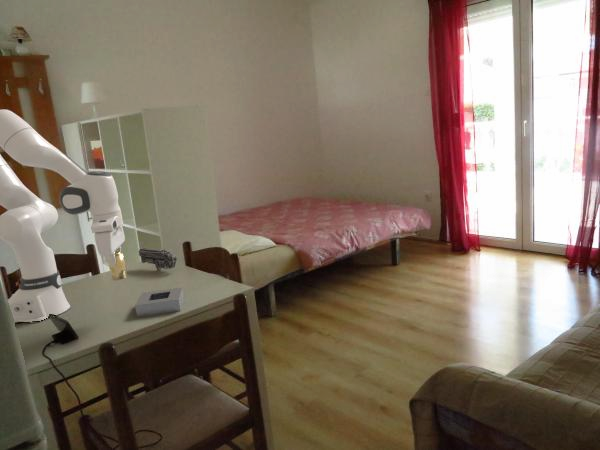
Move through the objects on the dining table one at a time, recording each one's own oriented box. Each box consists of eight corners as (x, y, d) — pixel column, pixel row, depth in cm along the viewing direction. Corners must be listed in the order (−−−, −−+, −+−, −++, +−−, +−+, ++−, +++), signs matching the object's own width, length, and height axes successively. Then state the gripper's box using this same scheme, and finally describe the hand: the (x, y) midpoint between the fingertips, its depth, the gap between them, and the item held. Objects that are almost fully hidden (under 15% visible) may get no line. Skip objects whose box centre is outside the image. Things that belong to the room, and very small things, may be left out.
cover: (109, 281, 155) (104, 256, 153) (113, 276, 160) (108, 252, 158) (125, 279, 156) (120, 254, 154) (128, 274, 161) (124, 250, 159)
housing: (137, 319, 155) (135, 305, 154) (144, 306, 167) (141, 292, 166) (181, 313, 157) (178, 299, 156) (184, 300, 169) (182, 287, 168)
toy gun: (145, 266, 217) (142, 245, 215) (180, 271, 204) (176, 249, 201) (139, 268, 215) (136, 247, 213) (174, 274, 201) (170, 251, 199)
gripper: (106, 216, 163) (114, 254, 166) (89, 229, 143) (98, 272, 146) (125, 214, 164) (132, 252, 167) (110, 226, 144) (119, 269, 147)
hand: (116, 261), depth 157 cm, fingers closed on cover, 5 cm apart
